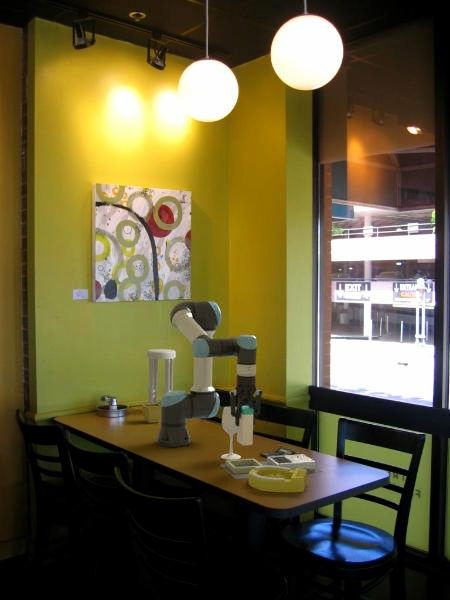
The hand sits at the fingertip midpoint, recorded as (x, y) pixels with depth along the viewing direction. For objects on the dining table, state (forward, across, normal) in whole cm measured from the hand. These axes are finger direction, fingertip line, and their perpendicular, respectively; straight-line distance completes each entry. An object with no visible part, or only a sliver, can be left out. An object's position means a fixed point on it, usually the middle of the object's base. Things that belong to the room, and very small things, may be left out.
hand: (244, 433), depth 246 cm
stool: (+16, -10, +114) cm, 115 cm away
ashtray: (+14, +5, -21) cm, 26 cm away
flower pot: (+16, -19, +90) cm, 94 cm away
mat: (+14, +10, -3) cm, 17 cm away
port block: (+14, +18, -4) cm, 23 cm away
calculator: (+15, +20, +13) cm, 28 cm away
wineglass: (+15, 0, +17) cm, 22 cm away
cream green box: (+4, 0, 0) cm, 4 cm away
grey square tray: (+14, 0, 0) cm, 14 cm away
